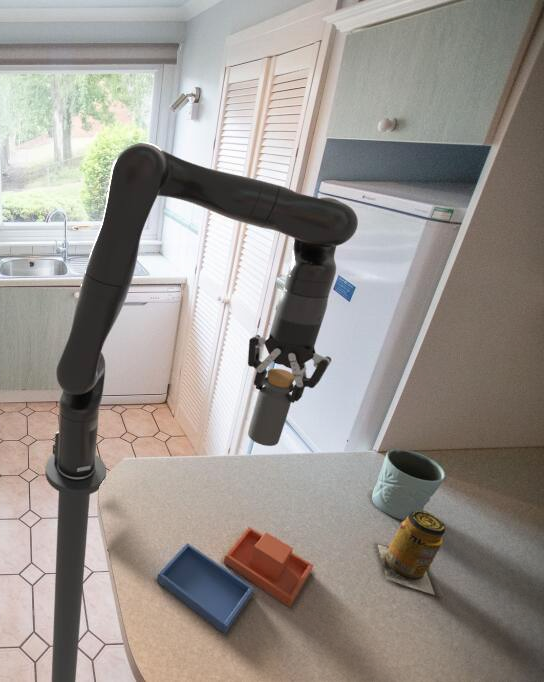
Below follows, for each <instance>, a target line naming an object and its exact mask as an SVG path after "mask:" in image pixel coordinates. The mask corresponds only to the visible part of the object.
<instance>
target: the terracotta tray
mask: <svg viewBox="0 0 544 682" xmlns="http://www.w3.org/2000/svg"><path fill="white" fill-rule="evenodd" d="M263 535H264V534H262V533H260V532H258V531H257V530H255V529H253V528H252V527H250V526H248V527H247V528H246V529H245V531H243V533H242V534H241V536H240V537H239V538H238V539H237V541H236V542H235V543H234V544H233V545H232V547H231V548H230V549H229V550H228V552H227V553H226V554H225V556H224V560H223V563H224V564H225V565H227V566H228V567H229V568H231V569H233V570H234V571H236V572H237V573H238V574H240V575H242V576H243V577H245V578H246V579H247V580H249V581H250V582H252V583H254V584H255V585H256V586H258V587H259V588H260V589H263V590H264V591H265V592H267V593H268V594H270V595H271V596H273V597H274V598H275V599H277V600H278V601H280V602H282V603H283V604H285V605H286V606H288V607H289V608H291V606H292V604H293V603H294V602H295V599H296V598H297V596H298V595H299V593H300V591H301V589H302V588H303V586H304V585H305V583H306V581H307V579H308V578H309V576H310V574H311V572H312V570H313V568H314V564H313V563H310V562H309V561H307V560H306V559H304V558H302V557H301V556H299V555H297V554H295V553H294V552H293V551H292V552H291V555H290V558H289V561H288V563H287V566H286V568H285V569H284V571H283V572H282V574H281V575H280V577H279V578H278V580H277V581H276V582H274V581H273V580H271V579H270V578H268V577H267V576H265V575H264V574H262V573H261V572H259V571H258V570H256V569H254V568H253V567H251V566H250V565H249V563H250V560H251V557H252V553H253V550H254V547H255V545H256V544H257V543H258V541H259V540H260V539H261V538H262V536H263Z"/></svg>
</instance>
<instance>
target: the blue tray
mask: <svg viewBox="0 0 544 682" xmlns="http://www.w3.org/2000/svg"><path fill="white" fill-rule="evenodd" d="M156 582H157V583H159V584H160V585H161V586H162V587H164V588H165V589H166V590H168V591H169V592H170V593H171V594H173V595H174V596H175V597H176V598H177V599H179V600H180V601H181V602H182V603H184V604H185V605H187V606H188V607H189V608H191V610H193V611H194V612H196V613H197V614H198V615H199V616H201V617H202V618H203V619H205V620H206V622H208V623H210V624H211V625H212V626H214V627H215V628H216V629H217V630H219V631H220V632H221V633H222V634H224V635H226V633H227V632H228V630H229V629H230V628H231V626H232V625H233V623H234V622H235V620H236V619H237V617H238V616H239V615H240V613H241V612H242V611H243V609H244V607H245V606H246V604H247V603H248V602H249V600H250V599H251V597H252V595H253V592H254V590H255V588H254V587H253V586H251V585H250V584H248V583H247V582H245V581H244V580H242V579H241V578H239V577H238V576H236V575H235V574H234V573H232V572H231V571H229V570H228V569H227V568H225V567H223V566H222V565H220V564H219V563H218V562H216V561H215V560H213V559H212V558H210V557H209V556H207V555H206V554H205V553H203V552H201V551H200V550H199V549H197V548H195V547H194V546H193V545H191V544H190V543H188V542H187V543H186V544H184V545H183V547H182V548H181V549H180V550H179V551H178V552H177V553H176V554H175V555H174V556H173V557H172V558H171V559H170V561H168V563H167V564H166V565H165V566H164V567H163V568H162V569H161V570H160V571H159V572H158V574H157V578H156Z"/></svg>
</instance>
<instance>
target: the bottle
mask: <svg viewBox="0 0 544 682" xmlns="http://www.w3.org/2000/svg"><path fill="white" fill-rule="evenodd" d="M294 381H295V378H294V376H293V374H292V372H290V371H288V370H286V369H283V368H270V369H268V370H267V376H266V378H265V380H264V385H263V387H262V388H261V389H260V390H259V391H258V394H257V397H256V401H255V405H254V408H253V412H252V415H251V420H250V423H249V427H248V431H247V435H248V437H249V439H250V440H251V441H253V442H255V444H258V445H261V446H266V447H273V446H276V445H278V443H279V441H280V439H281V436H282V433H283V430H284V426H285V423H286V420H287V417H288V414H289V412H290V411H289V410H290V408H291V404H292V402H289V401H290V397H291V394H292V391H293V388H294V385H295V384H294Z"/></svg>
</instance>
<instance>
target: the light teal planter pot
mask: <svg viewBox="0 0 544 682" xmlns="http://www.w3.org/2000/svg"><path fill="white" fill-rule="evenodd" d="M377 478H378V479H377V481H376V484H375V487H374V489H373V491H372V495H371V500H372V502H373V504H374V505H375V506H376V508H378V509H379V510H380V511H382V512H383V513H384V514H387V515H388V516H390V517H393V518H396V519H398V520H402V521H405V520H406V519H407V517H408V515H409V513H411V512H412V511H424V509H425V506H426V505H427V504H428V503H429V502H430V500H431V497H433V496H434V494H435V493H437V490H438V489H439V488H440V486H441V485H442V484H443V482H444V481H445V479H446V472H445V470H444V469H443V468H442V466H441V465H440V464H439V463H437V462H436V461H435V460H433V459H432V458H429V457H428V456H426V455H423V454H421V453H419V452H416V451H413V450H409V449H402V448H394V449H391V450H388V451H387V452H386V454H385V457H384V460H383V463H382V467H381V470H380V472H379V476H378V477H377Z"/></svg>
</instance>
